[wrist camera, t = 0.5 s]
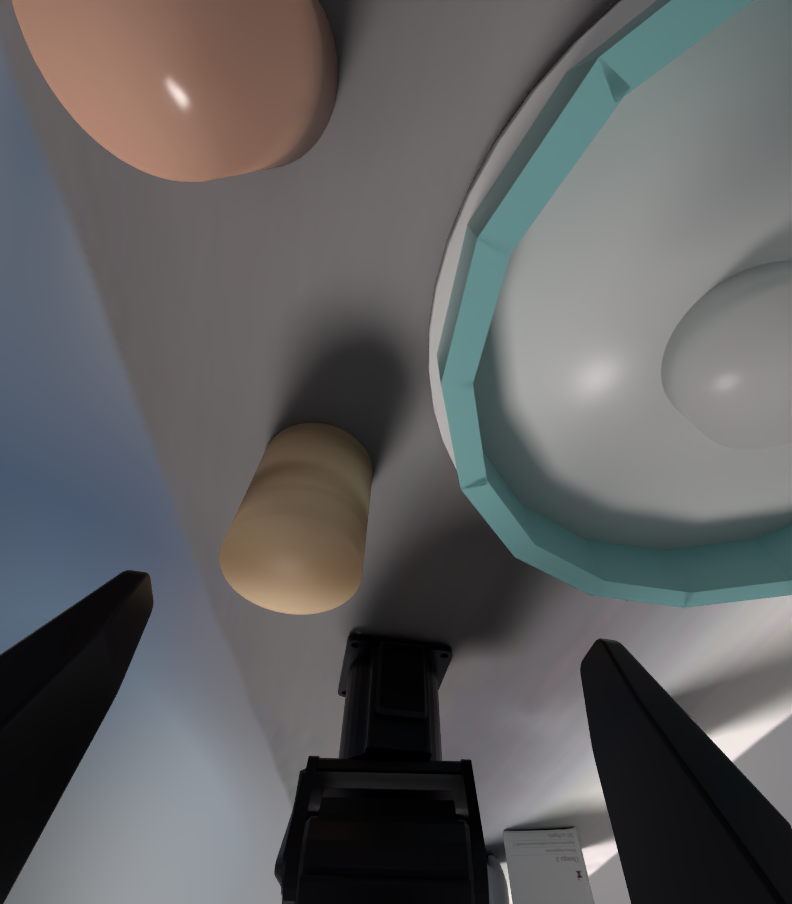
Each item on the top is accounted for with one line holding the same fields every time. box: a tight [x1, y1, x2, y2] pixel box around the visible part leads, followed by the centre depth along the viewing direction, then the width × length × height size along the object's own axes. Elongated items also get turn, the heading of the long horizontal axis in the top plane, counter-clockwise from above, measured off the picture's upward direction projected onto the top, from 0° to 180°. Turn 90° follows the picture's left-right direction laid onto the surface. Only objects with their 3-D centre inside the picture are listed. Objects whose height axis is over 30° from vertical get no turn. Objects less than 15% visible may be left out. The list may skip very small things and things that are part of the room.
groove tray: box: [428, 0, 792, 608], centre depth 16 cm, size 23×23×4 cm
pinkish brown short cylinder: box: [12, 0, 338, 182], centre depth 11 cm, size 5×5×6 cm
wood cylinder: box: [219, 423, 373, 614], centre depth 19 cm, size 5×5×6 cm
